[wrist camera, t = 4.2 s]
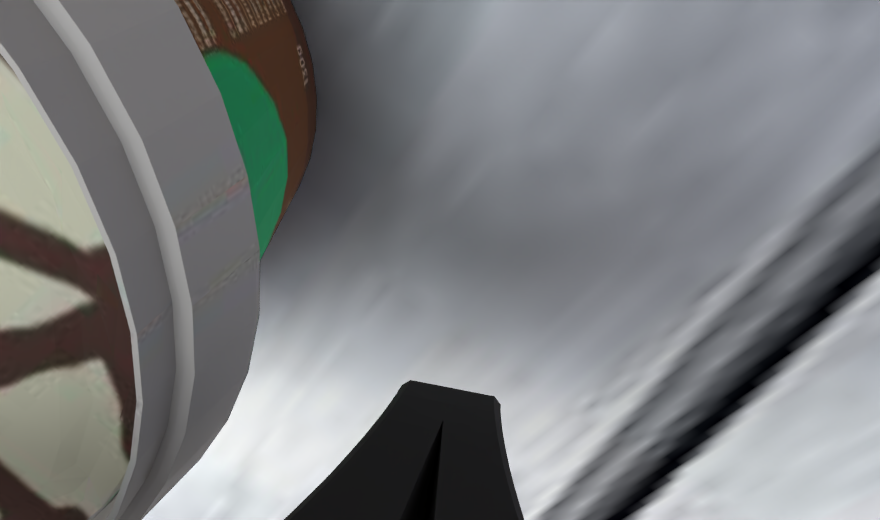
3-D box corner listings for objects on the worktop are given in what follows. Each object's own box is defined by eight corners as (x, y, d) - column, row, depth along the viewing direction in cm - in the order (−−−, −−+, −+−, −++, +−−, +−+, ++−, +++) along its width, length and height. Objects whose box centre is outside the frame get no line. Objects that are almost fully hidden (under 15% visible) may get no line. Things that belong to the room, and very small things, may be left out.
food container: (159, 378, 20) (-120, 754, 11) (-23, 228, 18) (-524, 534, 9) (487, 103, 16) (452, 369, 7) (286, -132, 14) (-119, -189, 5)
